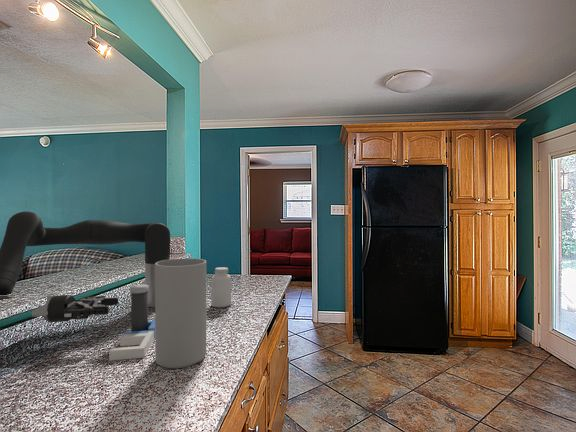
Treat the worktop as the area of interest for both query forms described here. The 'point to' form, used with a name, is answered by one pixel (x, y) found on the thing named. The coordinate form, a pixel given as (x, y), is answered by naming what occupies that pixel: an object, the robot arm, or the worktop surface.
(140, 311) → the grey capped cylinder
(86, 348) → the worktop surface
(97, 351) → the worktop surface
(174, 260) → the cylinder vase
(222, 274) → the pill bottle
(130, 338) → the blue grey comb bracket
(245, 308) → the worktop surface
